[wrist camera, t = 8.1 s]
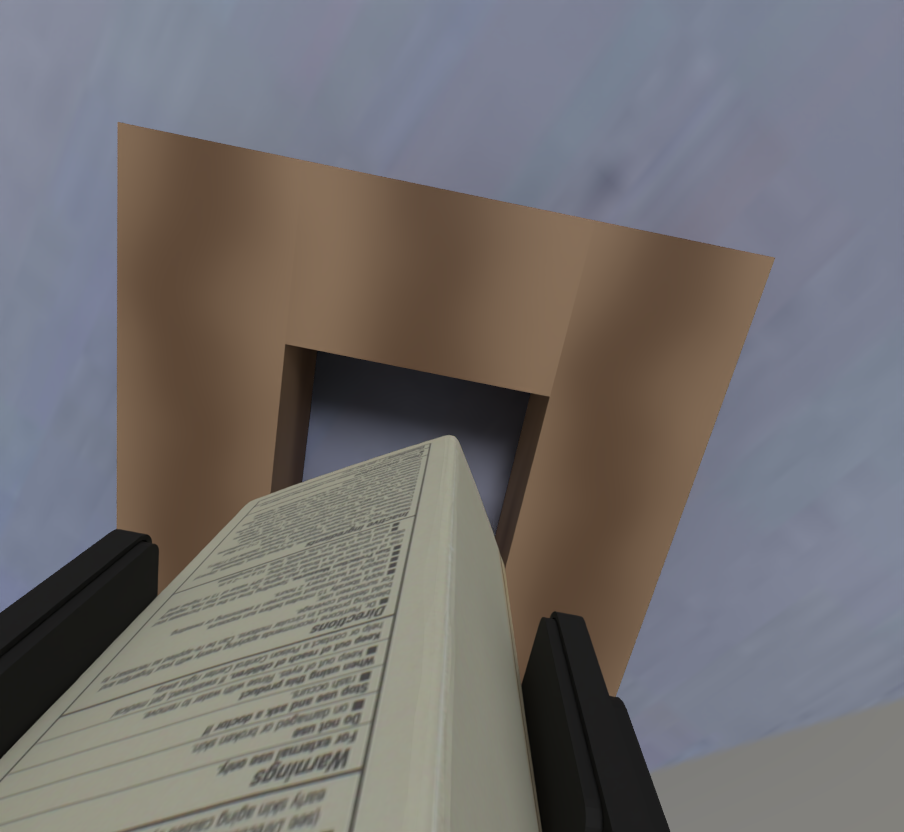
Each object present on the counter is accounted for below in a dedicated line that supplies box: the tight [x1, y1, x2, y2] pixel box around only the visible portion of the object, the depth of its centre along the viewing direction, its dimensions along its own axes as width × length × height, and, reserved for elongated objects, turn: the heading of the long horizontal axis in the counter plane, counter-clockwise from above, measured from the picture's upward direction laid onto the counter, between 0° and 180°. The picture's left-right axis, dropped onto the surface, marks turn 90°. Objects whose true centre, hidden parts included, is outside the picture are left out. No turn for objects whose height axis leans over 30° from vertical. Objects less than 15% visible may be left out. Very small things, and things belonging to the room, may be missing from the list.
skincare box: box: [0, 435, 542, 832], centre depth 8 cm, size 6×4×12 cm
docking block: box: [117, 122, 775, 697], centre depth 18 cm, size 18×18×4 cm
